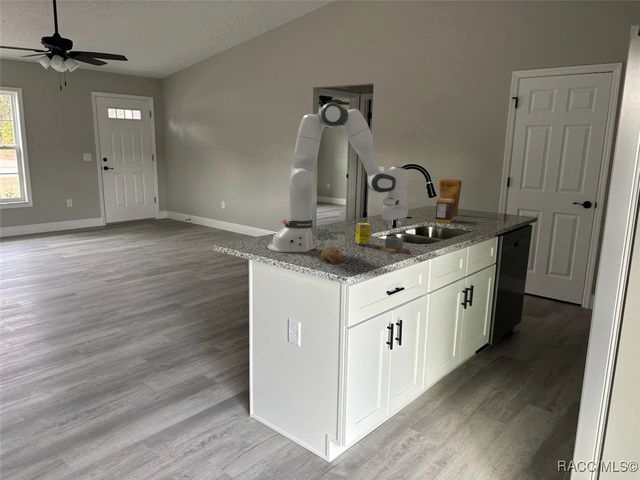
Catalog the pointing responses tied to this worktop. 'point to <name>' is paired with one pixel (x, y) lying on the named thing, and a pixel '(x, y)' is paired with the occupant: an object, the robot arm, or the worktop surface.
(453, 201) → the supplement box
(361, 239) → the supplement box
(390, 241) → the grey hollow block
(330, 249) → the bread roll
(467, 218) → the worktop surface
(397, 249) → the tan flat piece
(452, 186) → the pancake mix bag
